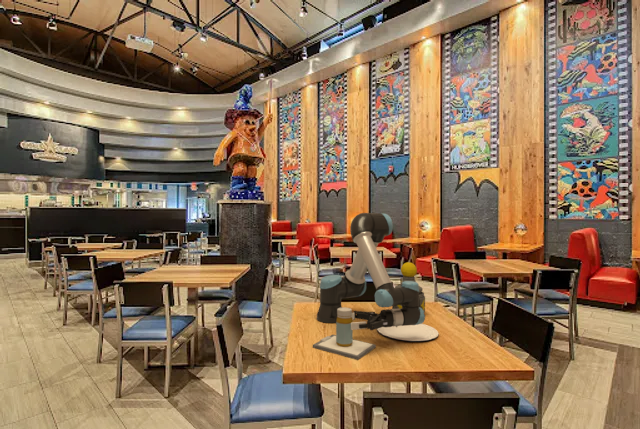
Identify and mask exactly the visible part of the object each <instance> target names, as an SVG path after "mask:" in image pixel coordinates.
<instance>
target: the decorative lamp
mask: <svg viewBox="0 0 640 429" xmlns="http://www.w3.org/2000/svg"><path fill="white" fill-rule="evenodd" d="M417 272H418V269H417V266H416V265H415V264H414V263H413V262H408V261H407V262H405V263H403V264H402V265H401V268H400V273H401V275H402V279H401V282H400V284H398V285H395V287H394V288H398V287H401V286H402V282H404V281H414V282H417V281H416V278H415V277H416V275H417ZM391 307H392V308H391V309H401V308H402V305H396V306H391ZM419 307H420V308H422V309H423V311H424V314H425V313H426V296H425V292H424V291H423V287H421V286H420V285H419Z"/></svg>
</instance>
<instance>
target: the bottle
mask: <svg viewBox="0 0 640 429" xmlns="http://www.w3.org/2000/svg"><path fill="white" fill-rule="evenodd" d="M352 313H353V310H352V308H350V307H342V308H338V309H337V319H336V323H335V325H336V326H335V327H336V328H335V335H336V343H337V345H339V346H342V347H348V346H351V345H352V342H353V336H354V335H353V332H354V330H351V323H353V322H354V319H352Z"/></svg>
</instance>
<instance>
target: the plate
mask: <svg viewBox="0 0 640 429" xmlns="http://www.w3.org/2000/svg"><path fill="white" fill-rule="evenodd" d="M376 330H377V332H378V333H379V334H381V335H383V336H384V337H387V338H389V339H394V340H398V341H404V342H405V341H406V342H425V341H426V342H427V341H432V340H435V339H436V338H437V337H438V336H439V331H438V330H437V329H436V328H435V327H432V326H431V325H427V324H425V323H422V324H418V325H407V326H398V327H395V326H394V327H393V326H392V327H381V328H378V329H376Z"/></svg>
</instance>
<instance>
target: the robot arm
mask: <svg viewBox="0 0 640 429" xmlns="http://www.w3.org/2000/svg"><path fill="white" fill-rule="evenodd" d="M351 220H352V221H351V223H350V226H349V227H350V228H349V229H350V230H349V231H350V236H351V239H352V242H353V243H355V244H356V245H357V247H358V249H357V251H356V254H355V257H354V259H353V262H352V263H351V266H350V268H349V269H348V270H346V272H345V273H344V276H343V277H342V276H341V275H339V274H331V275H326V276H323V277H322V278H321V279H320V281H319V282H320V283H319V307H318V311H317V314H316V320H317V321H319V322H321V323H324V324H326V323H327V324H336V319H337V309H338V308H342V306H343V305H342V299H349V298H358V297H361V296H363V295H364V294H365V293H366V291H367V280H366V278H365V275H366V273H367V271H368V273H369V276H370V278H371V280H372V282H373V284H374V287H375V290H376V291H375V293H374V301H375V304H376V305H377V306H378V307H380V308H388V309H381V310H380V312H379V313H376V311H362V310H361V311H358V310H353V312H352V320H353V323H351V330H353V331H354V330H355V331H356V330H366V329H367V330H370V331H375V330H377V329H378V328H381V327H392V326H393V327H394V326H395V327H398V326H407V325H418V324H424V322H425V320H426V315H425V313H424V311H423V309H422V308H420V307H419V286H420V285H419V283H418V282H417V281H416V282H414V281H404V282H402V281H401V282H402V286H401V287H398V288H395V287H394V285H393V282H392V281H391V278H390V276H389V273H388V272H387V269H386V267H385V265H384V262H383V261H382V258H381V256H380V254H379V251H378V250H377V247H378V245H379V244H380V243H383V241H384V238H385V237H388V236H390V235H391V234H392V232H393V230H394V229H393V228H394V226H393V225H394V224H393V220H392V218H391V217H390V215H389V214H387V213H385V212H383V213H382V212H378V213H376V212H362V213H359V214H356V215H355V216H354V217H353V219H351ZM396 305H402V308H401V309H392V308H391V307H392V306H396ZM356 319H357V320H363V321H358V322H357V321H356V322H354V320H356ZM364 320H365V321H364Z"/></svg>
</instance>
